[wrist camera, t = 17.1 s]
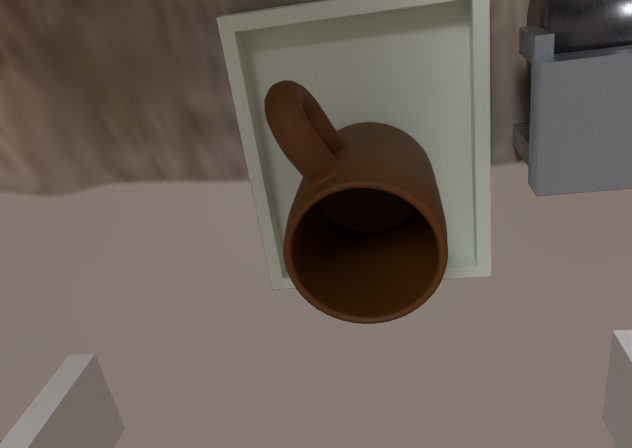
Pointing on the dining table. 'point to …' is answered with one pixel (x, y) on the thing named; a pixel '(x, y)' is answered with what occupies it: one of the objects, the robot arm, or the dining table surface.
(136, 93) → the dining table surface
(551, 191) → the gray bench
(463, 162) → the tray
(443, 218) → the mug
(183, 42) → the dining table surface
